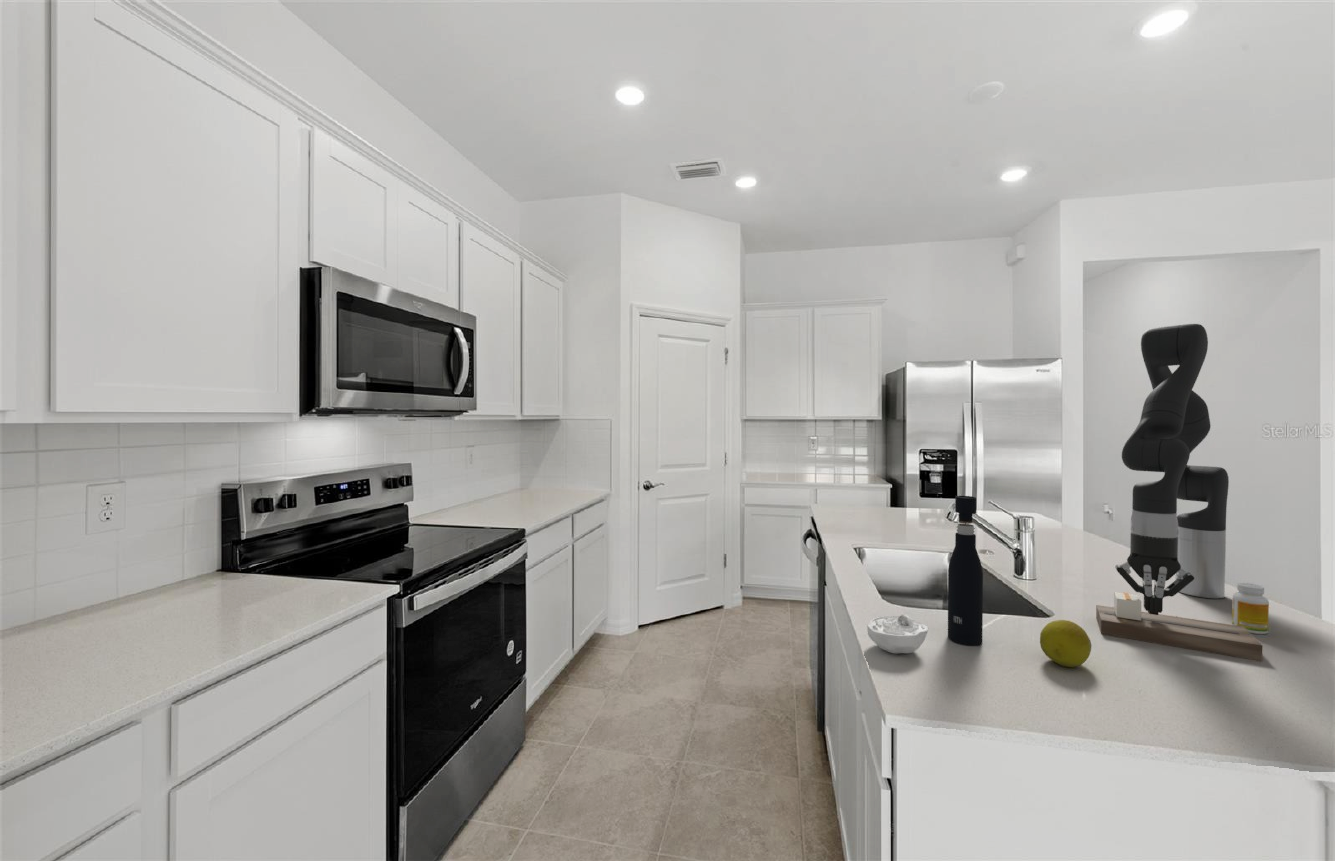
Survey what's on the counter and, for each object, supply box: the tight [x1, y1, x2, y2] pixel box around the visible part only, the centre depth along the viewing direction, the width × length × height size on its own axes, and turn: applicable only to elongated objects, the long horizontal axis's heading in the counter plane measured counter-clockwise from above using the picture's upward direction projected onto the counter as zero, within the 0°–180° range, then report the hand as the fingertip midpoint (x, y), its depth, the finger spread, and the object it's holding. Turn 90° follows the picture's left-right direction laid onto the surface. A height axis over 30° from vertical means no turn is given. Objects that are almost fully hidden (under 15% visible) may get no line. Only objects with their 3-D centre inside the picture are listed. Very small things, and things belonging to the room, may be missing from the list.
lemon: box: [1039, 619, 1092, 668], centre depth 103 cm, size 11×8×8 cm
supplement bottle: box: [1231, 582, 1270, 635], centre depth 118 cm, size 5×5×10 cm
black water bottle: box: [947, 495, 984, 647], centre depth 114 cm, size 6×6×30 cm
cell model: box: [866, 614, 929, 654], centre depth 110 cm, size 10×12×7 cm
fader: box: [1113, 591, 1142, 621], centre depth 119 cm, size 5×4×4 cm
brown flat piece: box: [1095, 604, 1263, 662], centre depth 115 cm, size 11×24×3 cm, turn 56°
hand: (1152, 613), depth 116 cm, fingers closed
